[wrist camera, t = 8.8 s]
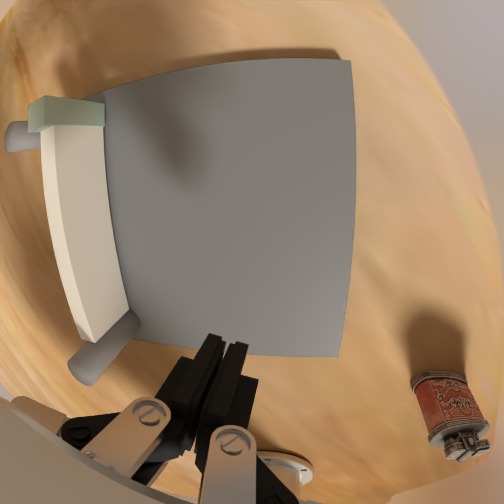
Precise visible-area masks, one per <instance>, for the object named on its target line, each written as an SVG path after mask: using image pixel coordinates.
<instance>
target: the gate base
mask: <svg viewBox="0 0 504 504" xmlns="http://www.w3.org/2000/svg"><path fill="white" fill-rule="evenodd" d="M81 100H84V101H91V102H97V103H103V104H105V106H104V114H105V127H103V138H104V158H105V171H106V182H107V192H108V201H109V208H110V216H111V223H112V229H113V235H114V241H115V247H116V252H117V258H118V263H119V268H120V272H121V277H122V282H123V286H124V290H125V294H126V298H127V302H128V306H129V310H128V311H127V312H126V313H125V314H124V315H123V316H122V317H121V318H120V319H119V320H118V321H117V322H116V323H115V324H114V325H113V326H112V327H111V328H110V329H109V330H108V331H107V332H106V333H105V334H104V335H103V336H102V337H101V338H100V339H99V340H98V341H97V342H96V343H94V342H90V341H88V342H86V343H85V344H84V345H83V346H82V347H81V348H80V349H79V350H78V351H77V352H76V353H75V354H74V355H73V356H72V357H71V358H70V359H69V360H68V363H67V364H68V368H69V370H70V372H71V373H72V375H73V376H74V377H75V378H76V379H77V380H78V381H79V382H81V383H82V384H84V385H86V386H93V384H94V383H95V382H96V381H97V380H98V378H99V377H100V376H101V375H102V374H103V372H104V371H105V370H106V369H107V367H108V366H109V365H110V364H111V363H112V362H113V360H114V359H115V358H116V357H117V356H118V354H119V353H120V352H121V351H122V350H123V348H124V347H125V346H126V345H127V344H128V343H129V341H130V340H131V339H137V340H142V341H148V342H153V343H159V344H165V345H172V346H178V347H186V348H193V349H200V348H201V346H202V344H203V342H204V341H205V339H206V337H207V335H208V334H209V333H212V334H215V335H218V336H222V340H223V341H226V346H225V350H224V352H226V351H227V349H228V346H229V344H230V343H233V344H235V342H236V341H239V342H242V343H246V344H249V347H248V350H247V354H251V355H266V356H286V357H339V351H340V346H341V340H342V334H343V327H344V321H345V314H346V307H347V299H348V291H349V283H350V274H351V264H352V252H353V240H354V224H355V203H356V125H355V105H354V91H353V79H352V69H351V61H350V60H337V59H317V58H278V59H258V60H245V61H235V62H226V63H219V64H211V65H205V66H199V67H193V68H188V69H182V70H177V71H173V72H168V73H164V74H159V75H155V76H151V77H147V78H144V79H140V80H136V81H133V82H130V83H126V84H123V85H120V86H117V87H114V88H111V89H108V90H105V91H102V92H99V93H96V94H94V95H91V96H88V97H86V98H83V99H81ZM5 148H6V150H7V152H9V153H13V152H21V151H29V150H39V149H41V132H33V133H28V121H14V122H11V123H10V124H9V126H8V128H7V130H6V134H5Z"/></svg>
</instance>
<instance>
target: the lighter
mask: <svg viewBox="0 0 504 504" xmlns="http://www.w3.org/2000/svg"><path fill="white" fill-rule="evenodd" d="M411 388H412V391H413V394H414V395H416V397H417V399H418V402H419V405H420V408H421V411H422V414H423V417H424V420H425V423H426V426H427V429H428V432H429V435H428V440H429V443H430V445H431V446H437V447H444V448H445V449H444V451H445V455H446V458H447V459H454V458H455V459H456V460H457V461H458V462H463V461H464V460H466V459H467V458H468V457H469V456H472V457H473V456H479V455H483V454H485V453H487V452H488V451H489V450H490V449H489V448H490V447H491V446H490V444H489V441H488V439H484V440H479V438H481V437H482V436H483V435H484V434H485V433H486V432H487V431H488V430H489V428H490V426H489V424H488V421H487V420H484V417H483V415H482V413H481V411H480V409H479V407H478V405H477V403H476V401H475V399H474V397H473V395H472V393H471V391H470V389H469V388H468V382H467V380H466V378H465V377H463V376H461V375H459V374H455V373H452V372H445V371H426V372H423V373H421V374H419V375H418V376H417V377H416V378H415V379H414V380H413V381H412V383H411Z"/></svg>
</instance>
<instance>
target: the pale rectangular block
mask: <svg viewBox="0 0 504 504" xmlns="http://www.w3.org/2000/svg"><path fill="white" fill-rule="evenodd" d="M104 106H105V104H103V103H97V102H91V101H84V100H78V99H71V98H63V97H54V96H43V97H42V98H40V99H38V100H37V101H35V102H33V103H32V104H30V105H29V108H28V133H33V132H41V162H42V175H43V186H44V195H45V203H46V210H47V216H48V222H49V228H50V233H51V238H52V243H53V248H54V253H55V257H56V261H57V265H58V269H59V273H60V277H61V280H62V284H63V288H64V291H65V294H66V298H67V301H68V304H69V307H70V310H71V313H72V316H73V319H74V322H75V324H76V327H77V330H78V333H79V335H80V338H81V339H82V340H86V341H90V342H94V343H96V342H97V341H98V340H99V339H100V338H101V337H102V336H103V335H104V334H105V333H106V332H107V331H108V330H109V329H110V328H111V327H112V326H113V325H114V324H115V323H116V322H117V321H118V320H119V319H120V318H121V317H122V316H123V315H124V314H125V313H126V312H127V311H128V310H129V306H128V302H127V298H126V294H125V290H124V286H123V282H122V277H121V272H120V268H119V263H118V258H117V252H116V247H115V241H114V235H113V229H112V223H111V216H110V208H109V201H108V192H107V182H106V171H105V158H104V138H103V127H105V114H104Z"/></svg>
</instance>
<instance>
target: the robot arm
mask: <svg viewBox="0 0 504 504" xmlns="http://www.w3.org/2000/svg"><path fill="white" fill-rule="evenodd" d="M225 346H226V341H223V340H222V336H218V335H215V334H212V333H209V334H208V335H207V337H206V339H205V341H204V342H203V344H202V346H201V348H200V349H199V351H198V353H197V354H196V356H195V358H194V360H192V359H189V358H186V357H183V356H182V357H181V358H180V359H179V360H178V362H177V363H176V365H175V366H174V368H173V370H172V371H171V373H170V374H169V376H168V377H167V379H166V380H165V382H164V383H163V385H162V387H161V388H160V390H159V391H158V393H157V394H156V396H155V397H154V398H152V397H141V398H138V399H136V400H134V401H133V402H131V403H130V404H129V405H128V406H127V407H126V408H125V409H124V410H123V411H122V412H118V413H111V414H104V415H95V416H86V417H76V418H72V419H70V418H68V417H67V416H66V414H63V413H61V412H59V411H56V410H54V409H52V408H49V407H47V406H45V405H43V404H41V403H39V402H37V401H35V400H32V399H30V398H28V397H25V396H18V397H16V398H14V399H13V400H12V401H11V402H9V401H8V400H6V399H4V398H2V397H0V504H193V503H190V502H187V501H184V500H181V499H178V498H175V497H173V496H170V495H167V494H164V493H162V492H159V491H157V490H154V489H152V488H150V487H151V485H152V484H153V483H154V481H155V480H156V479H157V477H158V476H159V475H160V473H161V472H162V471H163V469H164V468H165V467H166V465H167V464H168V462H169V460H171V459H175V458H178V457H179V455H181V456H183V453H184V451H185V450H188V451H190V450H191V448H192V446H193V443H194V441H195V438H196V443H195V449H194V453H196V460H195V465H196V466H197V468H198V469H199V471H200V472H201V473H202V475H201V481H200V488H199V494H198V501H197V504H322V503H318V502H314V501H310V500H307V501H303V500H300V492H301V486H302V485H304V484H306V483H308V482H309V481H310V480H311V479H312V478H313V467H312V466H311V464H309V463H308V462H307V461H305V460H303V459H301V458H299V457H296V456H293V455H289V454H284V453H278V452H269V451H256V441H255V438H254V437H253V435H252V434H251V433H250V432H249V431H248V430H247V427H248V423H249V419H250V415H251V411H252V406H253V402H254V398H255V394H256V389H257V385H258V380H259V379H255V378H251V377H247V376H244V375H241V371H242V368H243V364H244V361H245V357H246V354H247V350H248V347H249V344H246V343H242V342H239V341H236V342H235V344H233V343H230V344H229V346H228V349H227V351H226V353H225V356H224V358H223V355H224V350H225ZM222 359H223V360H222ZM196 436H197V437H196Z"/></svg>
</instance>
